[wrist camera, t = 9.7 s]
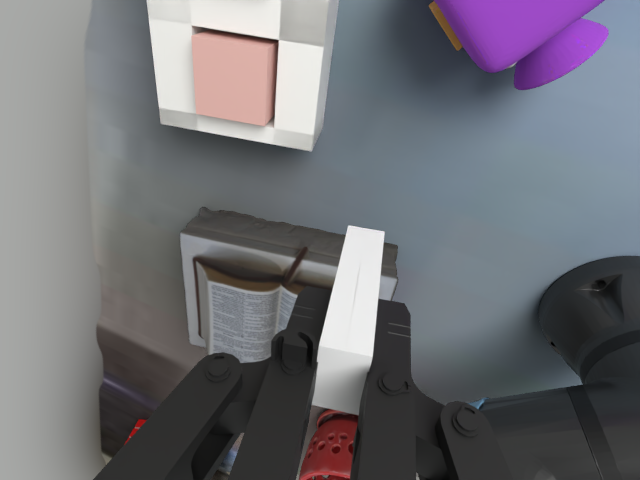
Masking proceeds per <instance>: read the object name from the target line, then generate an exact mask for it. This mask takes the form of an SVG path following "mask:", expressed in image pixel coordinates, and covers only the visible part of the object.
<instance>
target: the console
mask: <svg viewBox="0 0 640 480" xmlns="http://www.w3.org/2000/svg"><path fill="white" fill-rule="evenodd" d="M338 4H339V0H147V8H148V16H149V25H150V34H151V42H152V51H153V60H154V68H155V77H156V86H157V95H158V103H159V112H160V121H161V124H164V125H170V126H175V127H181V128H186V129H192V130H197V131H202V132H208V133H213V134H219V135H224V136H230V137H235V138H241V139H246V140H252V141H257V142H263V143H268V144H274V145H279V146H284V147H290V148H295V149H301V150H306V151H312V150H313V148H314V145H315V143H316V141H317V139H318V137H319V135H320V133H321V131H322V129H323V121H324V113H325V106H326V98H327V90H328V82H329V74H330V66H331V58H332V51H333V43H334V35H335V27H336V19H337V11H338ZM210 29H211V30H217V31H224V32H230V33H236V34H242V35H248V36H254V37H260V38H266V39H272V40H278V41H279V47H278V65H277V84H276V102H275V115H274V116H273V117H272V118H271V119H270V121H269V122H268V123H267V124H266V125H265V126H260V125H255V124H249V123H244V122H238V121H233V120H227V119H222V118H216V117H210V116H205V115H199V114H196V105H195V88H194V72H193V56H192V40H191V36H192V35H195V34H198V33H201V32H204V31H207V30H210Z"/></svg>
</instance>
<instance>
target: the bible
mask: <svg viewBox="0 0 640 480" xmlns="http://www.w3.org/2000/svg"><path fill="white" fill-rule="evenodd" d="M345 237H346V235H343V234H342V235H341V234H336V233H330V232H326V231H323V230H319V229H313V228H307V227H303V226H294V225H291V224H288V223H285V222H273V221H266V220H264V219H261V218H255V217H254V216H250V215H246V214H240V213H237V212H233V211H225V210H219V211H211V210H209V209H207V208H206V207H202V208H201V209H200V213H199V216H198V217H195V218H194V219H192V220H191V221H190V222H189V223H188V224H187V226H186V228H185V229H184V230H182V231H181V232H180V249H181V256H182V272H183V278H184V288H185V300H186V310H187V320H188V324H187V325H188V334H189V343H190V344H193V345H197V346H201V347H206V348H207V353H208V355H211V354H213V353H221V352H224V353H228V354H232V355H233V356H235V357H236V358H238V359H239V361H240V363H247V362H257V361H262V360H265V359H267V358H269V357H271V340H272V339H273V337H274V336H275V334H277V333H278V332H280V331H282V330H284V329H286V327H287V324H288V321H289V318H290V316H291V313H292V310H293V307H294V304H295V301H296V298H297V296H298V294H299V293H300V292H301V291H302V290H303V289H304V288H305V287H306V286H311V287H316V288H321V289H326V290H331V291H332V290H333V286H334V282H335V278H336V274H337V270H338V266H339V262H340V257H341V253H342V249H343V245H344V241H345ZM397 249H398V246H397V245H394V244H389V243H384V244H383V254H382V264H381V275H380V285H379V296H378V299H383V300H389V301H392V298H393V295H394V293H395V290H396V286H397V283H398V277H397V270H396V264H395V261H396V257H397Z"/></svg>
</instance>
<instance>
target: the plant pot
mask: <svg viewBox="0 0 640 480" xmlns="http://www.w3.org/2000/svg"><path fill="white" fill-rule="evenodd" d="M358 417H359V415H355V414H351V413H346V412H342V411H337V410H333V409H328V410H326V411H325V412H323V413H322V414H321V415H320V417H319V418H318V420H317V429H318V430H317V431H316V433H315V434H314V436H313V437H312V439H311V441H310V444H309V446H308V449H307V452H306V455H305V458H304V460H303V463H302V467H301V471H300V476H299V480H313V479H312V477H313V476H314V480H350V473H351V465H352V456H353V448H354V447H352V444H353V440H354V436H355V432H356V428H357V424H358ZM322 475H329V476H328V477H327V478H324V477H323V476H322ZM344 477H345V478H344Z"/></svg>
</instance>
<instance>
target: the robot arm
mask: <svg viewBox="0 0 640 480" xmlns="http://www.w3.org/2000/svg"><path fill="white" fill-rule="evenodd" d="M384 233H385V232H384V231H378V230H372V229H366V228H360V227H355V226H349V225H348V229H347V233H346V237H345V241H344V245H343V249H342V253H341V257H340V262H339V266H338V270H337V274H336V278H335V282H334V286H333V290H332V291H331V290H326V289H321V288H316V287H311V286H306V287H305V288H304V289H303V290H302V291H301V292H300V293H299V294H298V296H297V298H296V301H295V304H294V307H293V310H292V313H291V316H290V318H289V321H288V324H287V327H286V329H284V330H282V331H280V332H278V333H277V334H275V336H274V337H273V339H272V340H271V357H269V358H267V359H265V360H262V361H257V362H247V363H240V361H239V359H238V358H236V357H235V356H233V355H232V354H228V353H224V352H221V353H213V354H211V355H208V356H206V357H204V358H203V359H202V360H201V361H199V362H198V363H197V365H196V366H195V367H194V368H193V369H192V370H191V371H190V372H189V373H188V375H187V376H186V377H185V378H184V379H183V380H182V381H181V382H180V383H179V385H178V386H177V387H176V388H175V389H174V390H173V391H172V392H171V394H170V395H169V396H168V397H167V398H166V399H165V400H164V401H163V402H162V404H161V405H160V406H159V407H158V408H157V409H156V410H155V411H154V412H153V414H152V415H151V416H150V417H149V418H148V419H147V420H146V421H145V423H144V424H143V425H142V426H141V427H140V428H139V429H138V430H137V431H136V433H135V434H134V435H133V436H132V437H131V438H130V439H129V440H128V441H127V443H126V444H125V445H124V446H123V447H122V448H121V449H120V450H119V451H118V453H117V454H116V455H115V456H114V457H113V458H112V459H111V460H110V462H109V463H108V464H107V465H106V466H105V467H104V468H103V469H102V471H101V472H100V473H99V474H98V475H97V476H96V477H95V478H94V479H93V480H210V479H211V478H212V476H213V475H214V473H215V472H216V470H217V469H218V467H219V466H220V464H221V463H222V461H223V460H224V458H225V457H226V455H227V454H228V452H229V450H230V449H231V447H232V446H233V444H234V443H235V441H236V440H237V438H238V437H239V435H240V434H241V433H244V436H243V439H242V442H241V444H240V447H239V450H238V453H237V456H236V458H235V461H234V464H233V467H232V469H231V472H230V475H229V478H228V480H296V476H297V471H298V467H299V463H300V458H301V454H302V449H303V445H304V440H305V436H306V431H307V427H308V422H309V414H310V409H311V405H315V406H319V407H324V408H328V409H333V410H337V411H342V412H346V413H351V414H355V415H359V417H358V424H357V428H356V432H355V436H354V440H353V444H352V447H354V448H353V456H352V465H351V473H350V480H416V472H417V473H418V475H419V479H420V480H640V257H639V256H620V257H612V258H606V259H601V260H597V261H594V262H591V263H588V264H585V265H583V266H580V267H578V268H576V269H574V270H572V271H570V272H569V273H567V274H565V275H564V276H562V277H561V278H560V279H558V280H557V281H556V282H555V283H554V284H553V285H552V286H551V287H550V288H549V289H548V290H547V292H546V293H545V295H544V296H543V298H542V300H541V303H540V306H539V311H538V317H539V322H540V325H541V328H542V330H543V333H544V335H545V338H546V340H547V341H548V343H549V344H550V345H551V347H552V348H553V349H554V350H555V351H556V352H557V353H558V354H560V355H561V356H562V357H563V359H564V360H565V361H566V363H567V364H568V365H569V366H570V367H571V368H572V369H573V370H574V371H575V373H576V374H577V375H578V376H579V377H580V379H581V381H582V383H583V385H578V386H571V387H565V388H558V389H552V390H545V391H539V392H532V393H526V394H519V395H513V396H506V397H500V398H494V399H490V398H482V399H480V400H479V401H476V402H472V403H464V402H458V401H457V402H451V403H448V404H447V405H446V406H444V405H442V404H440V403H438V402H436V401H434V400H432V399H430V398H429V397H427V396H426V395H424V394H423V393H422V392H421V391H420V390H419V389H418V388H417V387H416V385H415V384H414V382H413V380H412V377H411V338H410V336H411V334H410V313H409V311H408V309H407V307H406V306H405V304H404V303H399V302H394V301H389V300H383V299H378V296H379V285H380V275H381V264H382V254H383V244H384Z"/></svg>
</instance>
